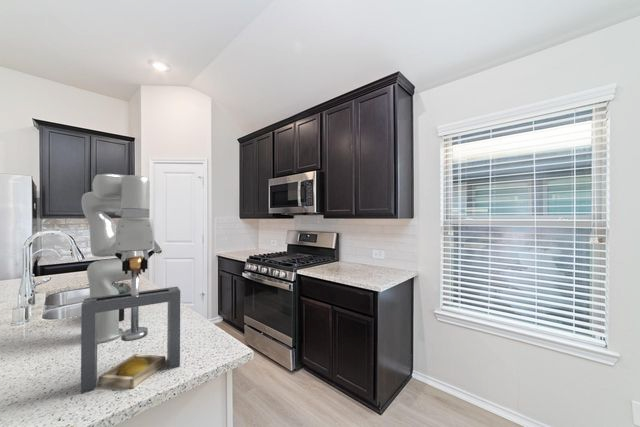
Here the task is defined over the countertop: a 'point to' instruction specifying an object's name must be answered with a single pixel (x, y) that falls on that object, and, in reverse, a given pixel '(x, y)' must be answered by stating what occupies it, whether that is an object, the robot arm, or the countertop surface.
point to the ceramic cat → (122, 290)
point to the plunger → (135, 331)
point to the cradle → (131, 382)
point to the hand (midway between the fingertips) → (135, 271)
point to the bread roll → (133, 367)
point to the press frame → (121, 302)
